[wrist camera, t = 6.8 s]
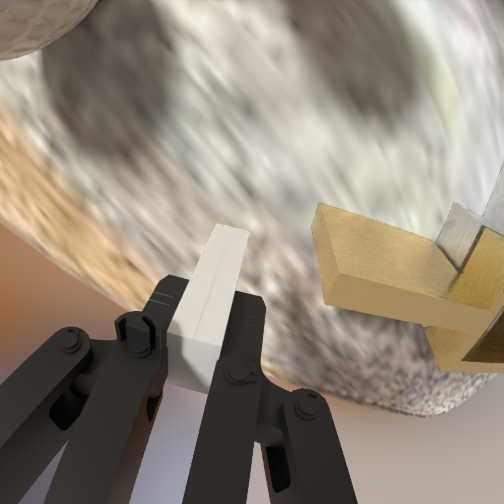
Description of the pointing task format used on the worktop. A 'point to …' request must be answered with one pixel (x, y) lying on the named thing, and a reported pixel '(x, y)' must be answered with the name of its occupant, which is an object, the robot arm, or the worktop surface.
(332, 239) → the beige square frame
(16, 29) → the vase
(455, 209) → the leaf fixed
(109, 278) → the worktop surface
